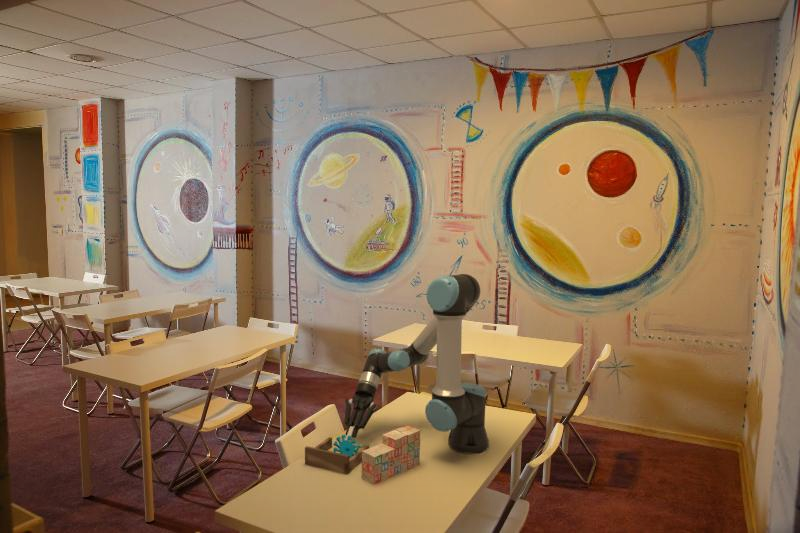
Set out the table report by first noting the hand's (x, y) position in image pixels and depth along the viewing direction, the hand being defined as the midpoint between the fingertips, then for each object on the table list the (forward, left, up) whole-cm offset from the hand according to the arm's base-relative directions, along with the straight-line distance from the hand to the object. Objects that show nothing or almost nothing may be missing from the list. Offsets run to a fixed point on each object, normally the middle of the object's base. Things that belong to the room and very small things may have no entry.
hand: (347, 445), depth 192 cm
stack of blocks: (-21, -2, -3) cm, 21 cm away
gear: (-4, +3, -3) cm, 6 cm away
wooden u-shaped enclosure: (-2, +6, -3) cm, 6 cm away
